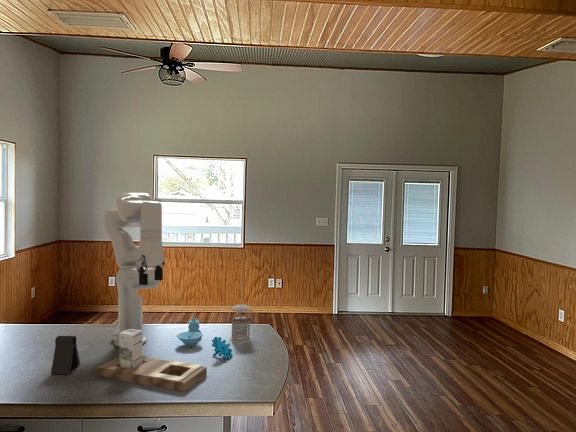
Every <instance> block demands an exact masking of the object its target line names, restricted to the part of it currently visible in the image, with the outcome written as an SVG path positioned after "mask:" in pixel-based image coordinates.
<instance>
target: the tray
mask: <svg viewBox="0 0 576 432" xmlns="http://www.w3.org/2000/svg"><path fill="white" fill-rule="evenodd" d="M207 368H208V367H207V366H204V365H203V366H202V364H195V363H191V362H190V363H189V362H184V361H183V362H182V361H177V360H165V359H160V358H153V357H147V356H142V365H140V366H138V367H136V368H134V369H129V368H123V367H120V365H119V356H118V357H116V358H114V359H112V360H111V361H108V362H106V363H104V364H102V365H100V366H98V367H97V376H98V377H101V378H107V379H113V380H118V381H122V382H128V383H132V384H133V383H134V384H140V385H145V386H151V387H153V388H154V387H155V388H161V389H166V390H171V391H175V392H176V391H177V392H181V393H186V392H187V391H188V390H190V389H191V388H193V387H194V386H195V385H196V384H198V383H199V382H200V381H202V380H203V379H204V378H206V377H207V373H208V372H207Z"/></svg>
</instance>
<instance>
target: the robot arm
mask: <svg viewBox="0 0 576 432" xmlns="http://www.w3.org/2000/svg"><path fill="white" fill-rule="evenodd" d="M115 205H116V208H110V209H108V210H106V211H105V212H104V213H103V225H104V230H105V232H106V234H107V237H108V238H109V239H110V242H111V244H112V248H113V255H114V258H115V262H116V265H117V266H118V267H119V268H120V269H119V270H118V271H117V272H116V274H115V275H116V276H115V281H116V289H117V296H118V297H117V299H118V300H117V301H118V304H117V305H118V308H117V309H118V311H117V312H118V315H117V316H118V322H117V323H118V324H117V325H118V328H117V329H118V330H117V329H114V330H113V331H112V333H111V336H112V337H116V338H115V340H114V341H113V342H114V346H117V347H119V333H121V332H122V331H124V330H127V329H134V330H141V331H142V332H143V310H144V309H143V298H142V296H141V295H140V294H139V293H138V292H137V291H139V290H147V289H154V288H157V287H158V286H159V285H160V283H161V281H163V280H164V274H163V273H164V268H165V267H164V266H165V261H166V256H165V255H164V247H163V242H162V241H163V230H162V229H163V227H162V226H163V205H162V203H161V202H159V201H153V200H152V197H151V195H149V194H148V193H146V192H123V193H121V194H119V195H118V196H117V197H116V200H115ZM123 228H140V229H139V230H140V231H139V235H140V237H139V241H138V245H135V243H134V240H133V237H132V236H131V234H130V233H129V232H127V231H126V230H125V229H123ZM145 343H147V337H146V336H144V335H142V345H144V344H145Z"/></svg>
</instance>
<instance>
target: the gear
mask: <svg viewBox="0 0 576 432" xmlns="http://www.w3.org/2000/svg"><path fill="white" fill-rule="evenodd" d="M211 342H212V343H211V346H212V347H213V348H214V349H213V350H214V352H213V354H212V356H213V357H216V356H217V355H218V357H221V356H222V359H224V360H231V358H232V356H233V353H232V352H233V349H232V348H230V347H231V342H228V343H227V341H226V340H225V339H223V340H222V337H220V336H219V337H217V336H215V337H214V338H213V339H212V340H211Z"/></svg>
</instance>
